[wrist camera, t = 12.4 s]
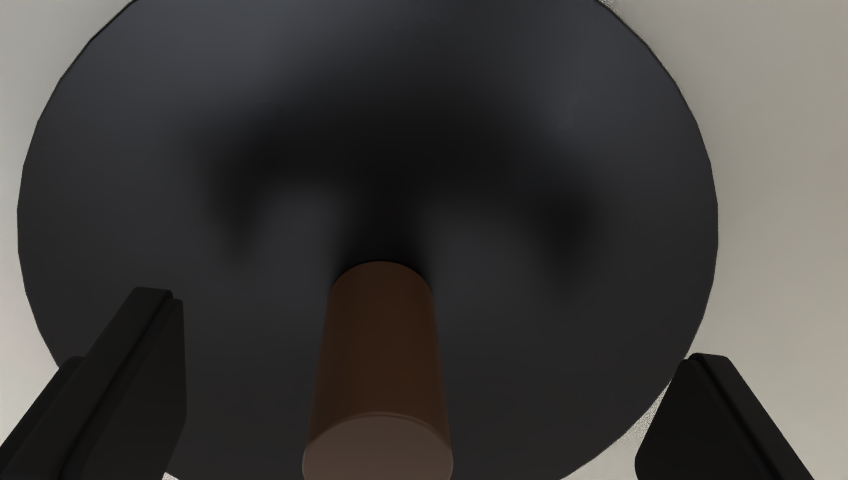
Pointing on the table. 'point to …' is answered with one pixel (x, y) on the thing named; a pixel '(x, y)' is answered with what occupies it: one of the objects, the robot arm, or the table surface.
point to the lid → (379, 228)
